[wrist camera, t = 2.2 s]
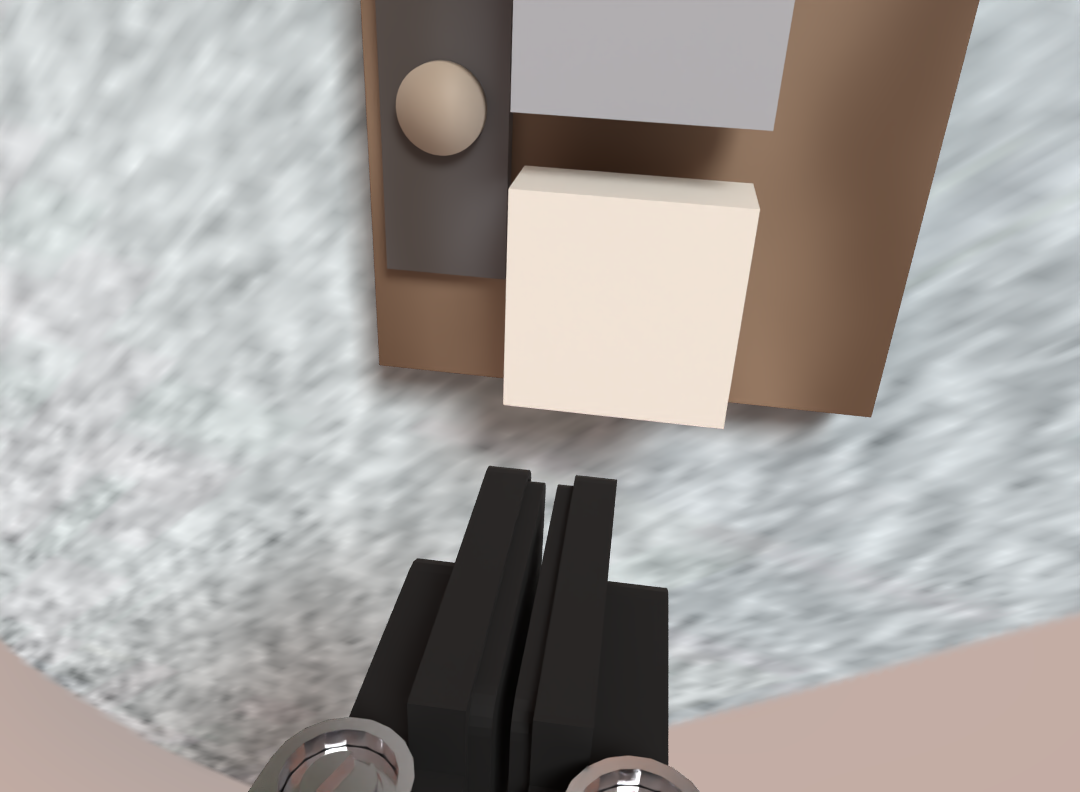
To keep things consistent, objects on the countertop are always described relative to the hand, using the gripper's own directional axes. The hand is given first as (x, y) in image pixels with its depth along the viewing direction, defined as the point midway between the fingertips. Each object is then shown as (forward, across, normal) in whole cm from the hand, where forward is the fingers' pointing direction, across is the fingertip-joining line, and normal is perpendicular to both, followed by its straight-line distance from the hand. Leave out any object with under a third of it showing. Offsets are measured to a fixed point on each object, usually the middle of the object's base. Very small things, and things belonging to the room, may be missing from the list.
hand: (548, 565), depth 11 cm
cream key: (+10, -1, 0) cm, 10 cm away
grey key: (+10, -1, -7) cm, 12 cm away
